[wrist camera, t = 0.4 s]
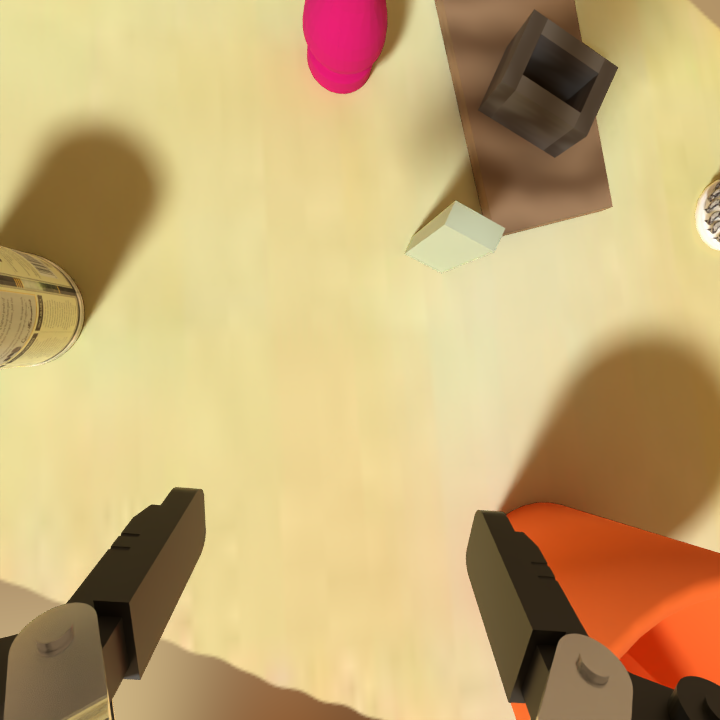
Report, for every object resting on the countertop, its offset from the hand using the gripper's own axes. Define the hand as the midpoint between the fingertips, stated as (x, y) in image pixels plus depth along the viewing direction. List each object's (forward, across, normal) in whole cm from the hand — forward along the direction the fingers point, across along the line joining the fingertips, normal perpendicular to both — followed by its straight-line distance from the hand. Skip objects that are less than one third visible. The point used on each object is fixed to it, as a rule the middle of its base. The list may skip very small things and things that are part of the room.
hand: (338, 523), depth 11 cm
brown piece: (+38, -16, -21) cm, 46 cm away
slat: (+32, -7, -6) cm, 34 cm away
